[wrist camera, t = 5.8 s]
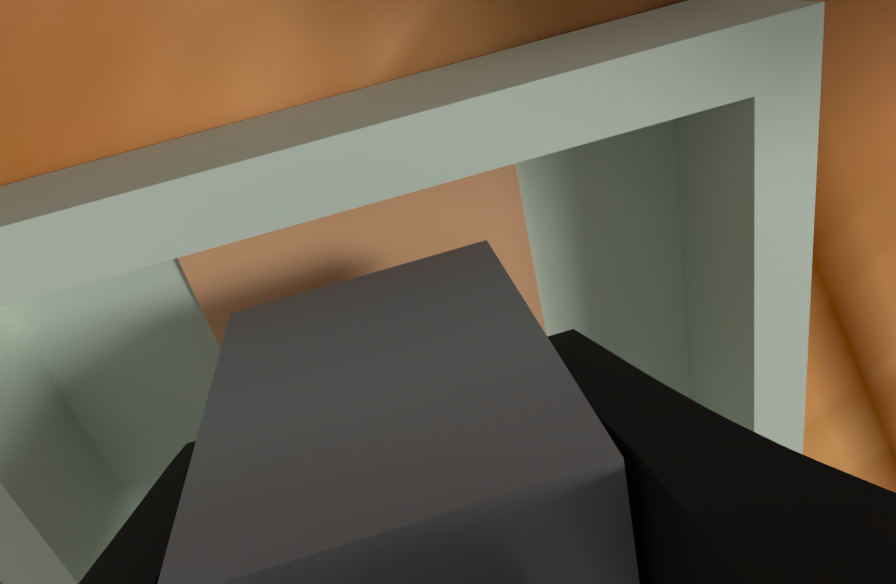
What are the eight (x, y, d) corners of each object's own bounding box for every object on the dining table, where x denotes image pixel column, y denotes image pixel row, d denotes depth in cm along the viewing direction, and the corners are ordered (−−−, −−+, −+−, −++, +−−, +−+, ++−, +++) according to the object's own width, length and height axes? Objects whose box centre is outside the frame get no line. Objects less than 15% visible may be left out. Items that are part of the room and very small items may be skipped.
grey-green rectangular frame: (720, 459, 16) (797, 552, 14) (181, 626, 16) (152, 759, 13) (705, -5, 11) (825, 1, 8) (-101, 212, 10) (-245, 294, 8)
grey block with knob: (529, 436, 12) (694, 799, 6) (315, 502, 11) (311, 930, 6) (486, 240, 10) (668, 530, 5) (230, 313, 10) (124, 704, 4)
